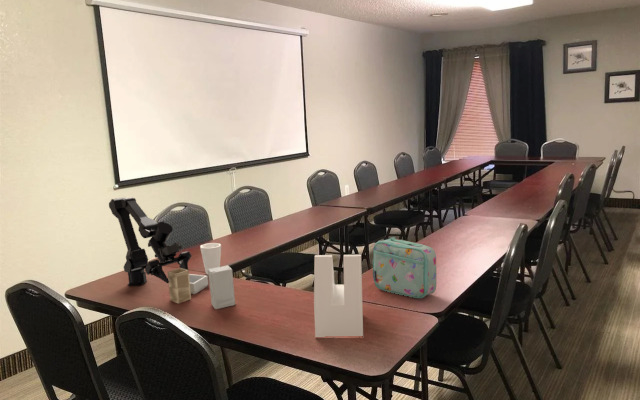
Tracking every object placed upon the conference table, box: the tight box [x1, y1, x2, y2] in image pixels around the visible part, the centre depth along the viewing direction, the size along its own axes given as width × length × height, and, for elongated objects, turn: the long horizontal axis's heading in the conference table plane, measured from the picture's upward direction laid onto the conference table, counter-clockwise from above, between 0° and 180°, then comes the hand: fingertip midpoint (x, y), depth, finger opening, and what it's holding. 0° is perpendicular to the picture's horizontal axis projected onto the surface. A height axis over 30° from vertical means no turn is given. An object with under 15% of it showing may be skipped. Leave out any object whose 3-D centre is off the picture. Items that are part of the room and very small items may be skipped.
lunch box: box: [371, 236, 437, 299], centre depth 200 cm, size 27×10×21 cm, turn 47°
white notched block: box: [313, 254, 364, 337], centre depth 171 cm, size 19×15×25 cm
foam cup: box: [199, 242, 222, 276], centre depth 235 cm, size 10×9×13 cm
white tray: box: [189, 273, 209, 295], centre depth 215 cm, size 10×10×4 cm
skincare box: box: [207, 264, 236, 310], centre depth 194 cm, size 8×6×15 cm
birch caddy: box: [167, 267, 192, 304], centre depth 202 cm, size 6×6×12 cm
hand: (178, 279), depth 202 cm, fingers open, 9 cm apart
